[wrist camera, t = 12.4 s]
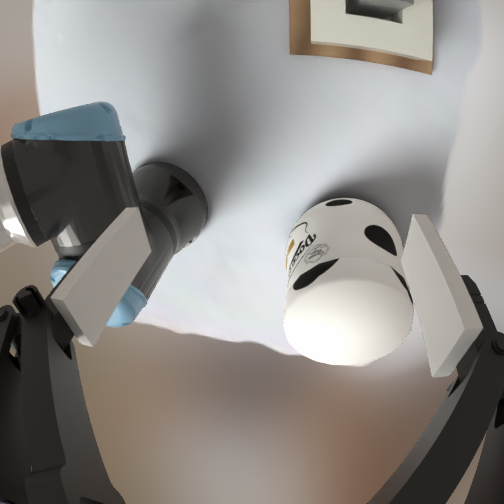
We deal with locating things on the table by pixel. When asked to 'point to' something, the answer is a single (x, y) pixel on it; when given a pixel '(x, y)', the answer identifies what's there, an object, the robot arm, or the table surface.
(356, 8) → the brushed grey pillar
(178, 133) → the table surface
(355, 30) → the well
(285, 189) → the table surface
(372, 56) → the board
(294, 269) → the milk container
